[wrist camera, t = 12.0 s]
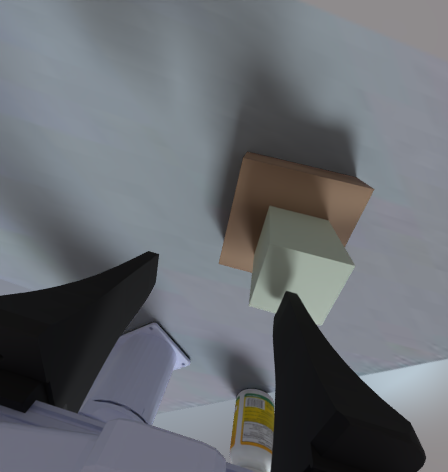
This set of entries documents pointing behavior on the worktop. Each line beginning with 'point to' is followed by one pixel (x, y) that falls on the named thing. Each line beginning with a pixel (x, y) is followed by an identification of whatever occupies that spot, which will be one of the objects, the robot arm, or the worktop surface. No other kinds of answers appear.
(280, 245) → the sage brick
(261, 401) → the supplement bottle
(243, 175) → the walnut block
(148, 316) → the worktop surface
